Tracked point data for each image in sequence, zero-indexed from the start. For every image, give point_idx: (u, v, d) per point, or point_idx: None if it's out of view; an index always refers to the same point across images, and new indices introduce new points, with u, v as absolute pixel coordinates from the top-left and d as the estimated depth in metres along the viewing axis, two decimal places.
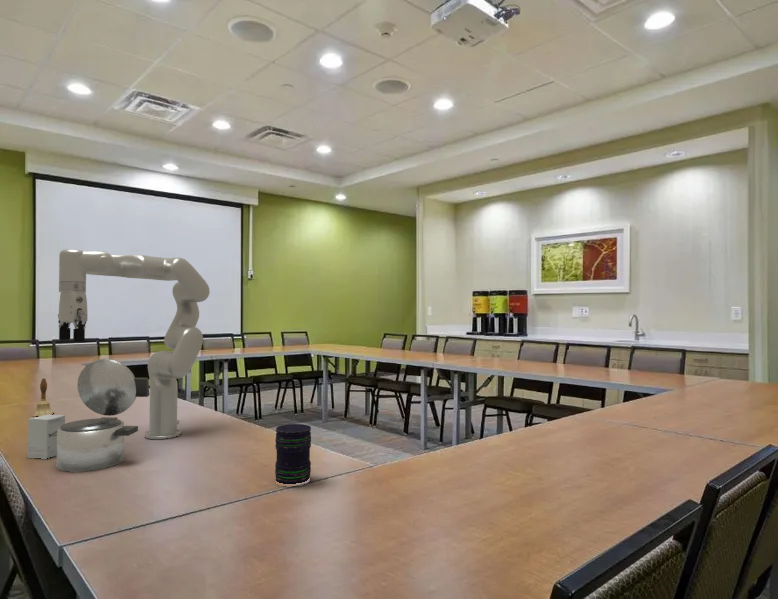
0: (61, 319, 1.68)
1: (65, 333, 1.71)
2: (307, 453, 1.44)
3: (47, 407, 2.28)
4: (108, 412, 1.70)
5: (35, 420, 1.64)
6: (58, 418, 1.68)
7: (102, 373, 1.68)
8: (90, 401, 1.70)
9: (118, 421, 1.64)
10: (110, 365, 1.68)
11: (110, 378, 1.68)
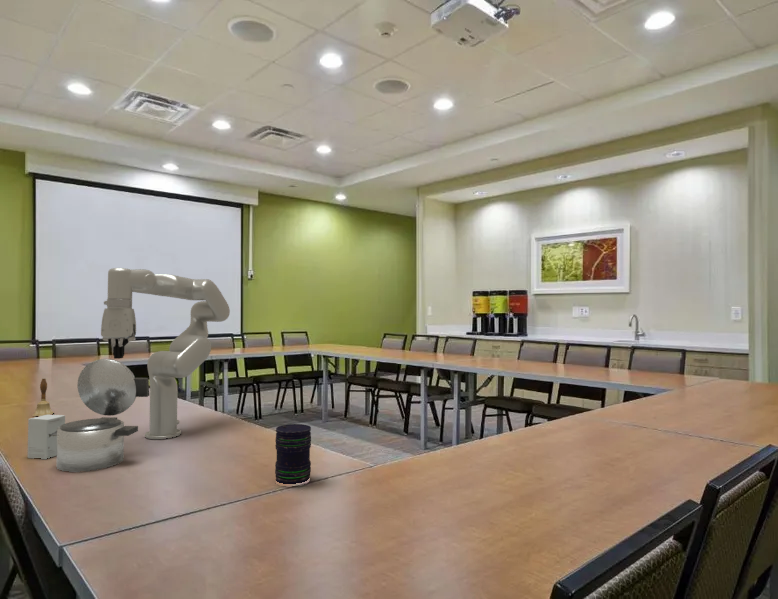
0: None
1: None
2: (307, 453, 1.44)
3: (47, 407, 2.28)
4: (108, 412, 1.70)
5: (35, 420, 1.64)
6: (58, 418, 1.68)
7: (102, 373, 1.68)
8: (90, 401, 1.70)
9: (118, 421, 1.64)
10: (110, 365, 1.68)
11: (110, 378, 1.68)
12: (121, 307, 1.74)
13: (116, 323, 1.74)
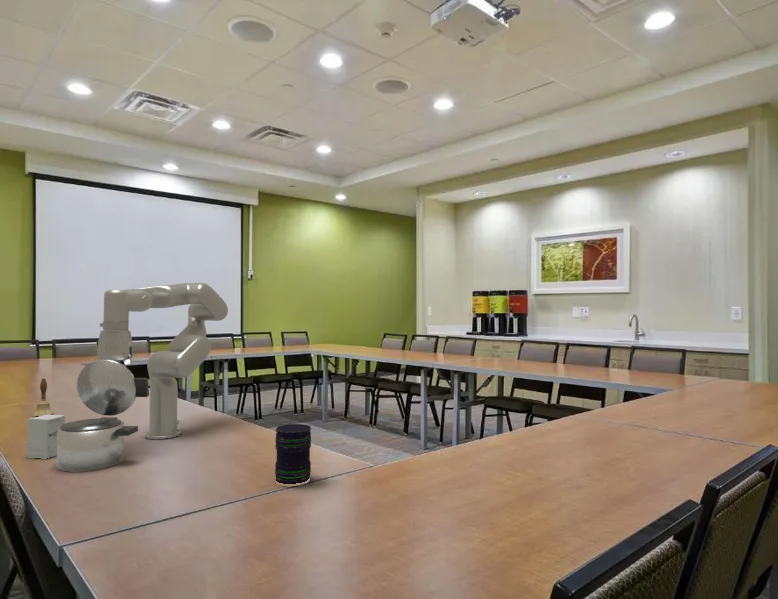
0: None
1: None
2: (307, 453, 1.44)
3: (47, 407, 2.28)
4: (108, 412, 1.70)
5: (35, 420, 1.64)
6: (58, 418, 1.68)
7: (101, 373, 1.68)
8: (90, 401, 1.70)
9: (118, 421, 1.64)
10: (109, 365, 1.67)
11: (109, 378, 1.68)
12: (117, 330, 1.72)
13: (112, 346, 1.72)
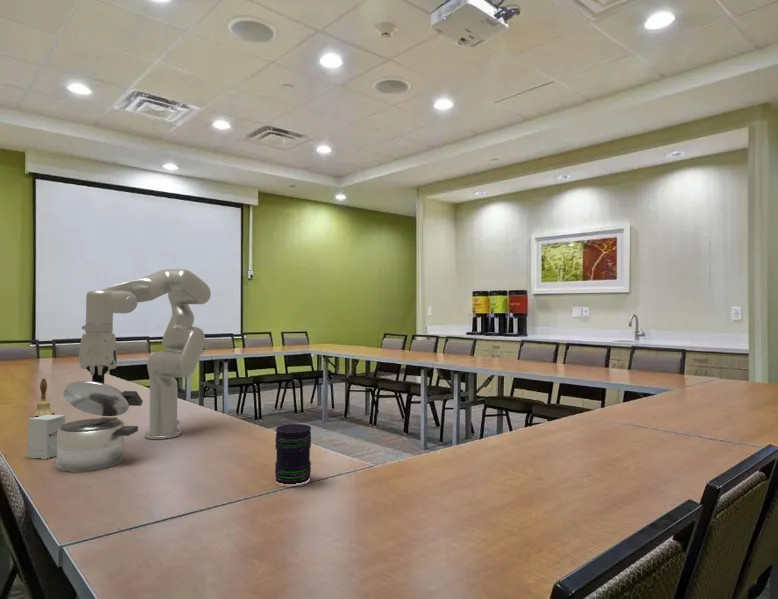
0: None
1: None
2: (307, 453, 1.44)
3: (47, 407, 2.28)
4: (107, 414, 1.70)
5: (35, 420, 1.64)
6: (58, 418, 1.68)
7: (87, 392, 1.60)
8: (84, 408, 1.67)
9: (118, 421, 1.64)
10: (92, 387, 1.58)
11: (97, 395, 1.61)
12: (100, 333, 1.61)
13: (95, 350, 1.62)
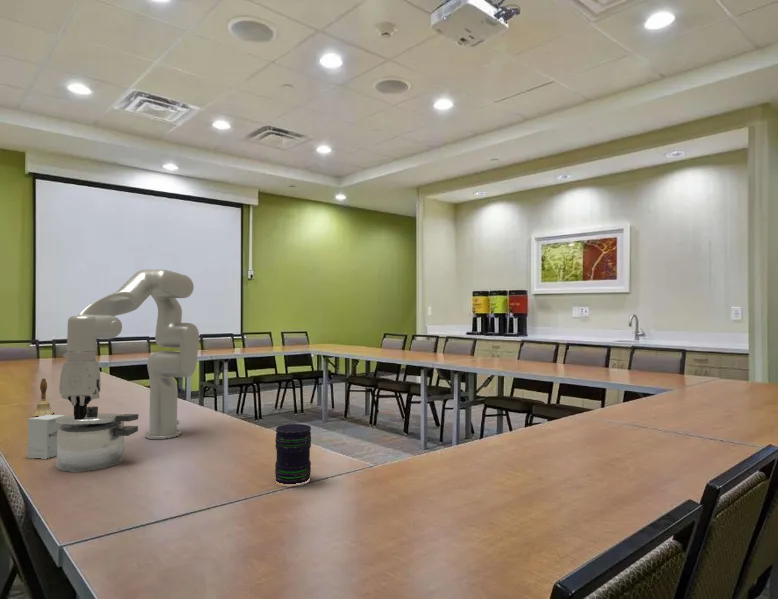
0: None
1: None
2: (307, 453, 1.44)
3: (47, 407, 2.28)
4: None
5: (35, 420, 1.64)
6: None
7: None
8: None
9: None
10: None
11: None
12: (82, 361, 1.52)
13: (76, 379, 1.52)
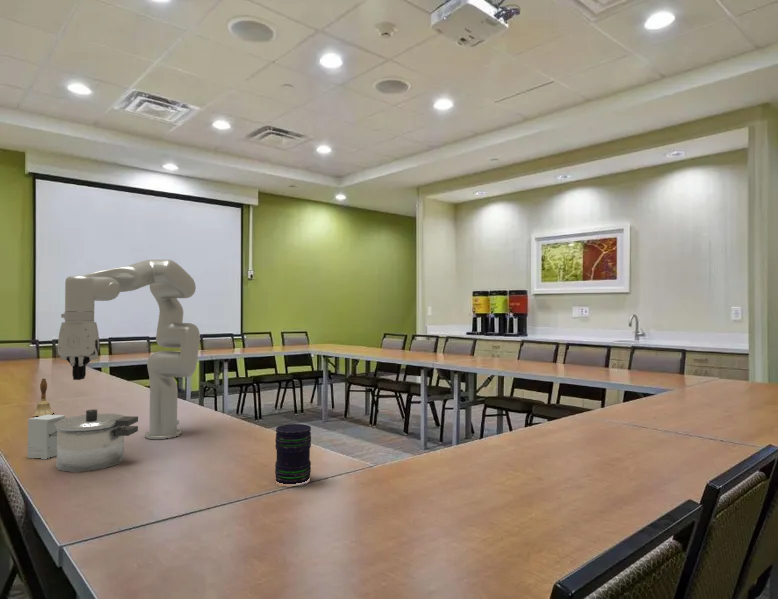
0: None
1: None
2: (307, 453, 1.44)
3: (47, 407, 2.28)
4: None
5: (35, 420, 1.64)
6: (58, 418, 1.68)
7: None
8: None
9: None
10: None
11: None
12: (80, 321, 1.51)
13: (75, 339, 1.51)
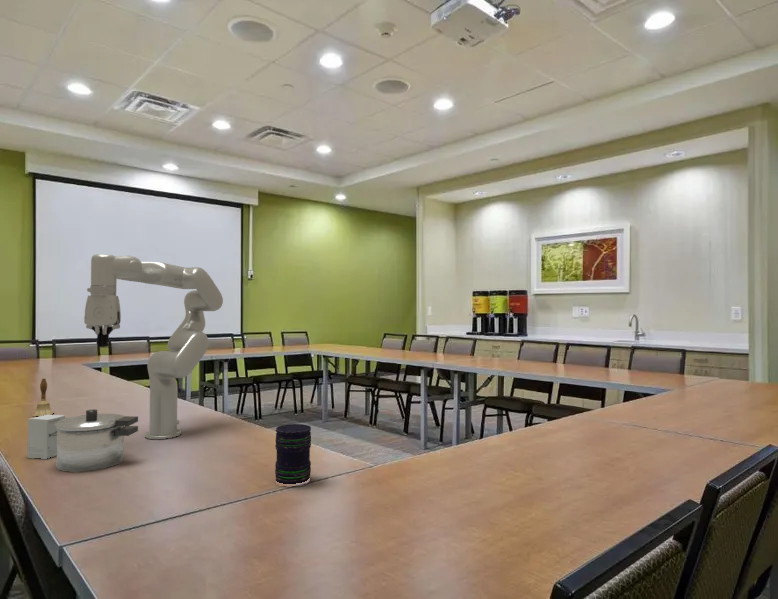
0: None
1: None
2: (307, 453, 1.44)
3: (47, 407, 2.28)
4: None
5: (35, 420, 1.64)
6: (58, 418, 1.68)
7: None
8: None
9: None
10: None
11: None
12: (105, 294, 1.70)
13: (100, 310, 1.70)
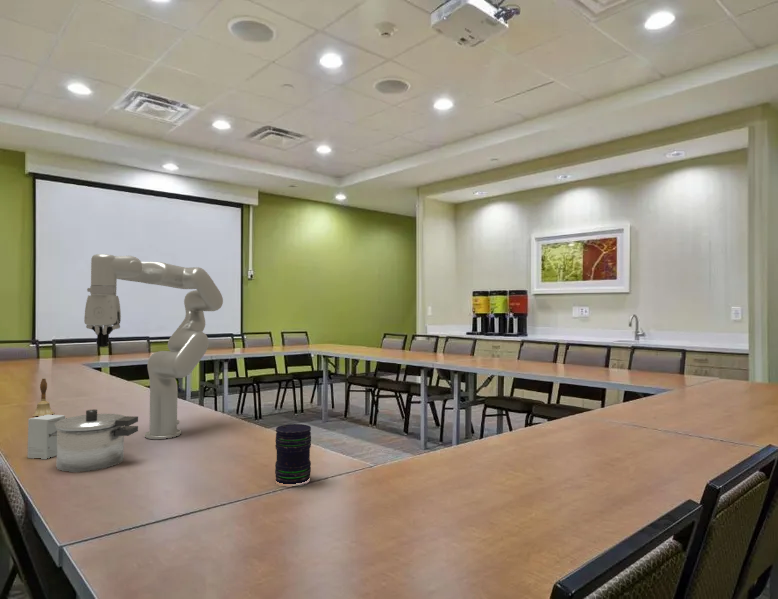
0: None
1: None
2: (307, 453, 1.44)
3: (47, 407, 2.28)
4: None
5: (35, 420, 1.64)
6: (58, 418, 1.68)
7: None
8: None
9: None
10: None
11: None
12: (105, 294, 1.70)
13: (100, 310, 1.70)
